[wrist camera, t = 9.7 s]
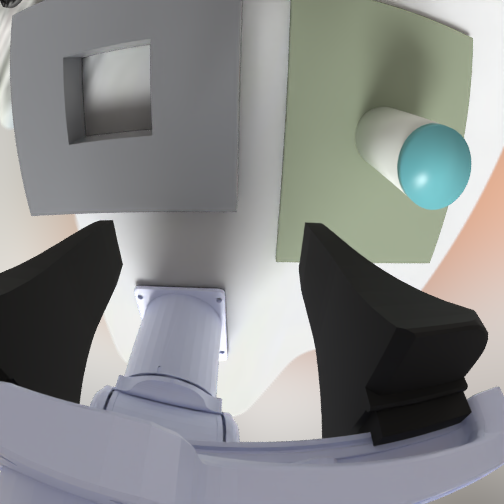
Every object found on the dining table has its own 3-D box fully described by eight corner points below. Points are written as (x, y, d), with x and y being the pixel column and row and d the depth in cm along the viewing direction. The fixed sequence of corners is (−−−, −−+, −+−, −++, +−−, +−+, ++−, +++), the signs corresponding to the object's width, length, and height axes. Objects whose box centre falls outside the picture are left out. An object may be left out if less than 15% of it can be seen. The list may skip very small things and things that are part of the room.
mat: (426, 259, 24) (429, 263, 24) (275, 257, 24) (276, 261, 23) (468, 38, 14) (472, 38, 13) (290, -12, 13) (292, -15, 13)
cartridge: (421, 131, 18) (482, 160, 12) (389, 178, 20) (439, 223, 14) (376, 93, 16) (434, 107, 11) (343, 146, 19) (385, 181, 13)
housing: (237, 197, 21) (236, 212, 19) (47, 202, 21) (31, 215, 19) (243, -27, 13) (242, -40, 10) (31, 17, 12) (12, 15, 10)
